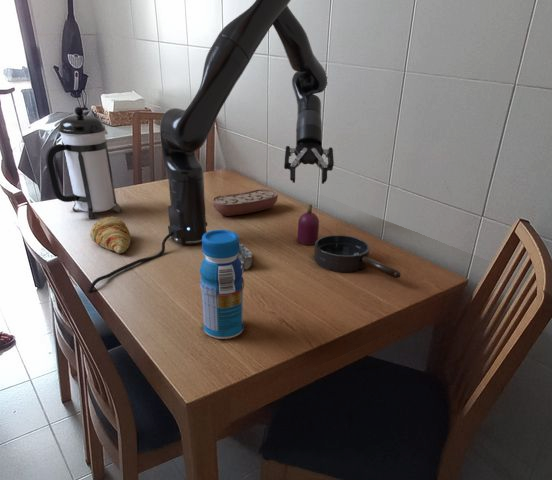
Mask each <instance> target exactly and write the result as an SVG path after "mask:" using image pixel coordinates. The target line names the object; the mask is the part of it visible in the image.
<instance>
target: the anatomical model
mask: <svg viewBox="0 0 552 480" xmlns="http://www.w3.org/2000/svg"><path fill="white" fill-rule="evenodd" d="M278 199H279V193H278V192H277V191H275V190H273V189H266V188H263V189H262V188H259V189H254V190H250V191H245V192H240V193H233V194H226V195H218V196H215V197H213V198H212V205H213V208H214V209H215V211H216V212H217V213H218V214H220V215H222V216H224V217H233V216H241V215H245V214H251V213H256V212H262V211H264V210H267V209H270V208H272V207H274V206H275V204H276V203H277V201H278Z"/></svg>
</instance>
